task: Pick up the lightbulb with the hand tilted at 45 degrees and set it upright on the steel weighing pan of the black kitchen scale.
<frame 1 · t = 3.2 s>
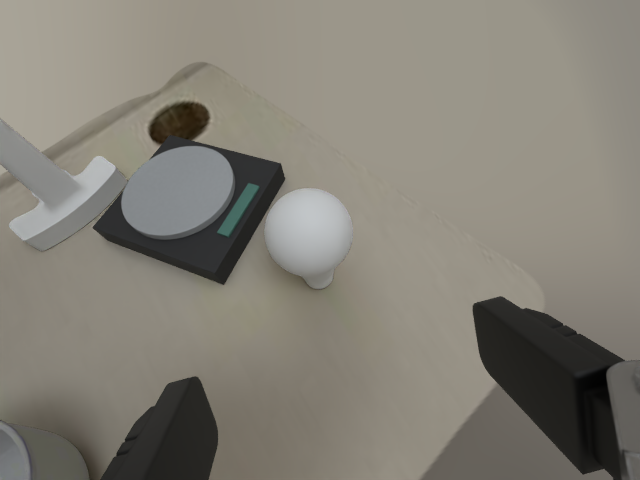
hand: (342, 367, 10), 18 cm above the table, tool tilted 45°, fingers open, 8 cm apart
scale: (198, 208, 37), on the table
lightbulb: (320, 280, 31), on the table
joystick: (75, 204, 39), on the table
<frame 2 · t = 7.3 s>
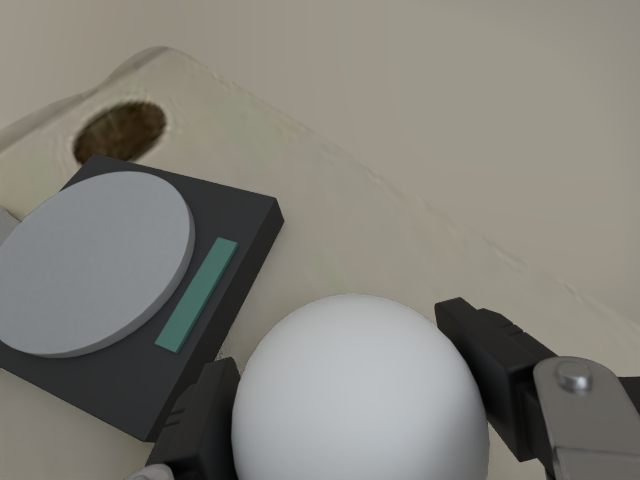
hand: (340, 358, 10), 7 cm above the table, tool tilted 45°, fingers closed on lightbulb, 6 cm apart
scale: (136, 279, 21), on the table
lightbulb: (360, 433, 16), on the table, touching gripper
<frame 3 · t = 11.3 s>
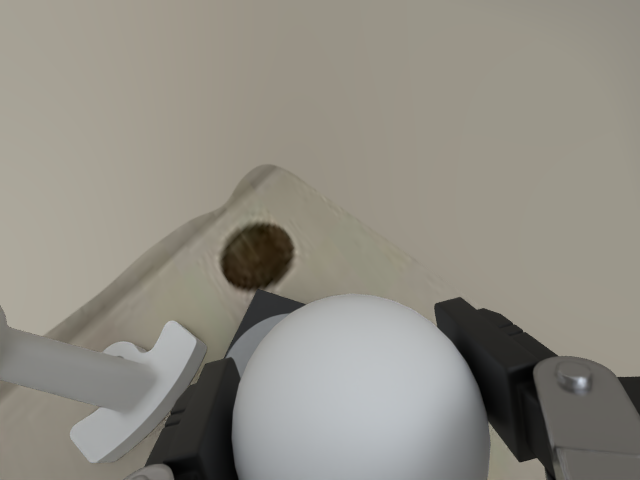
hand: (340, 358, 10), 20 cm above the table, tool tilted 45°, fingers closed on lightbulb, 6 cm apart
scale: (306, 394, 29), on the table
lightbulb: (360, 433, 16), point 13 cm above the table, touching gripper
joystick: (144, 382, 31), on the table
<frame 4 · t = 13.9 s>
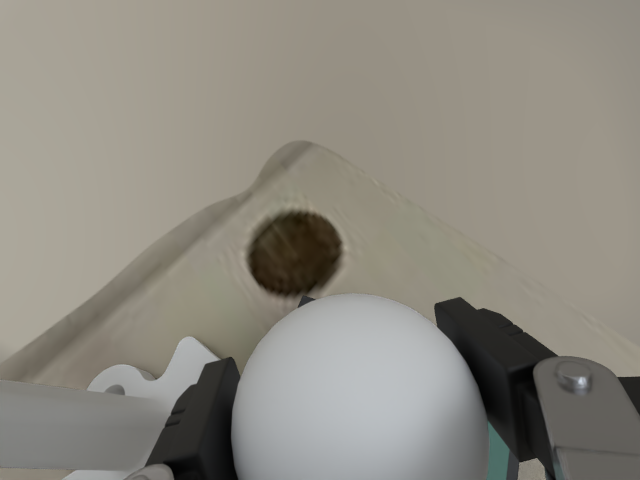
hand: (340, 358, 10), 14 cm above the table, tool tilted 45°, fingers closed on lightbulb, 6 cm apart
scale: (374, 442, 21), on the table
lightbulb: (360, 433, 16), point 6 cm above the table, touching gripper
joystick: (150, 419, 23), on the table
when the fingers open (10 cm above the table, at t = 15.5 s): lightbulb stays where it is, resting on scale.
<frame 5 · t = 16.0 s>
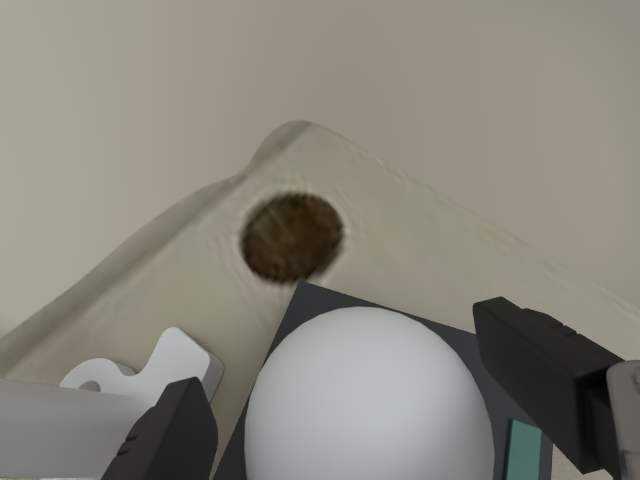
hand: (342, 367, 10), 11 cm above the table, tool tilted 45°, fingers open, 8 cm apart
scale: (381, 444, 18), on the table
lightbulb: (366, 437, 16), point 3 cm above the table, touching scale
joystick: (131, 420, 21), on the table
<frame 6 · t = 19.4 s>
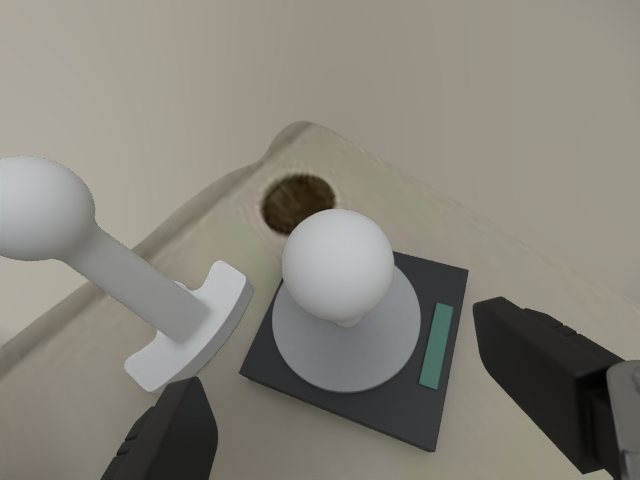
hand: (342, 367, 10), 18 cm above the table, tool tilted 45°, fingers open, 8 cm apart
scale: (358, 329, 29), on the table
lightbulb: (346, 314, 26), point 3 cm above the table, touching scale
joystick: (192, 323, 31), on the table
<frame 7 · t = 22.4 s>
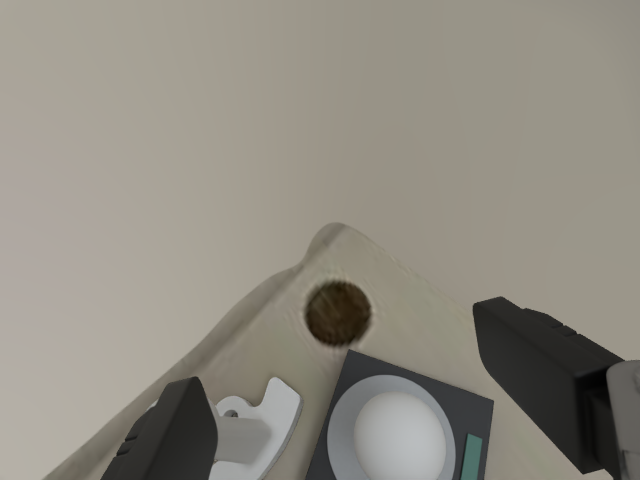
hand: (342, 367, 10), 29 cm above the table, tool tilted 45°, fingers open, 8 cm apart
scale: (398, 446, 33), on the table
lightbulb: (391, 443, 31), point 3 cm above the table, touching scale
joystick: (250, 431, 35), on the table
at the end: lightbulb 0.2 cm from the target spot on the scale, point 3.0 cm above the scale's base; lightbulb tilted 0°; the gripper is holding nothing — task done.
